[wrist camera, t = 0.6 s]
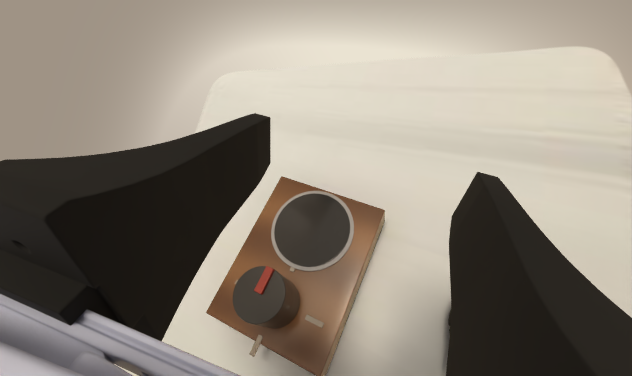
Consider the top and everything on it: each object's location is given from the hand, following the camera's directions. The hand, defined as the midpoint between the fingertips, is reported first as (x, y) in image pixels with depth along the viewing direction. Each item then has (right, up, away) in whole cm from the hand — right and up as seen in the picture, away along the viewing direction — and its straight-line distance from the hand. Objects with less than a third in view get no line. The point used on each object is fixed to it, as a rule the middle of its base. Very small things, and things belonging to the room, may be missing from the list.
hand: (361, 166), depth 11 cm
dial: (-5, -9, +12) cm, 16 cm away
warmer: (-3, -8, +16) cm, 18 cm away
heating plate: (-2, -4, +15) cm, 15 cm away
